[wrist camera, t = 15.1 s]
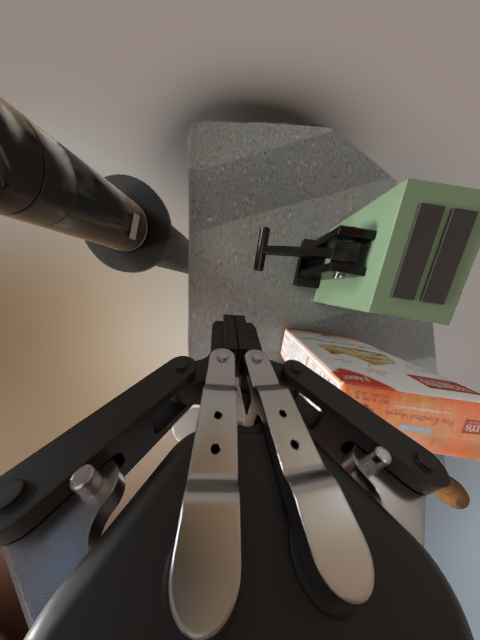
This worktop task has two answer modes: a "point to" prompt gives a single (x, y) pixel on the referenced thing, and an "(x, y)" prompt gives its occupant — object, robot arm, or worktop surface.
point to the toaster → (412, 253)
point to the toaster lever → (306, 251)
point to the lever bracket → (317, 270)
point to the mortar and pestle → (454, 495)
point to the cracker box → (394, 390)
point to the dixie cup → (187, 422)
